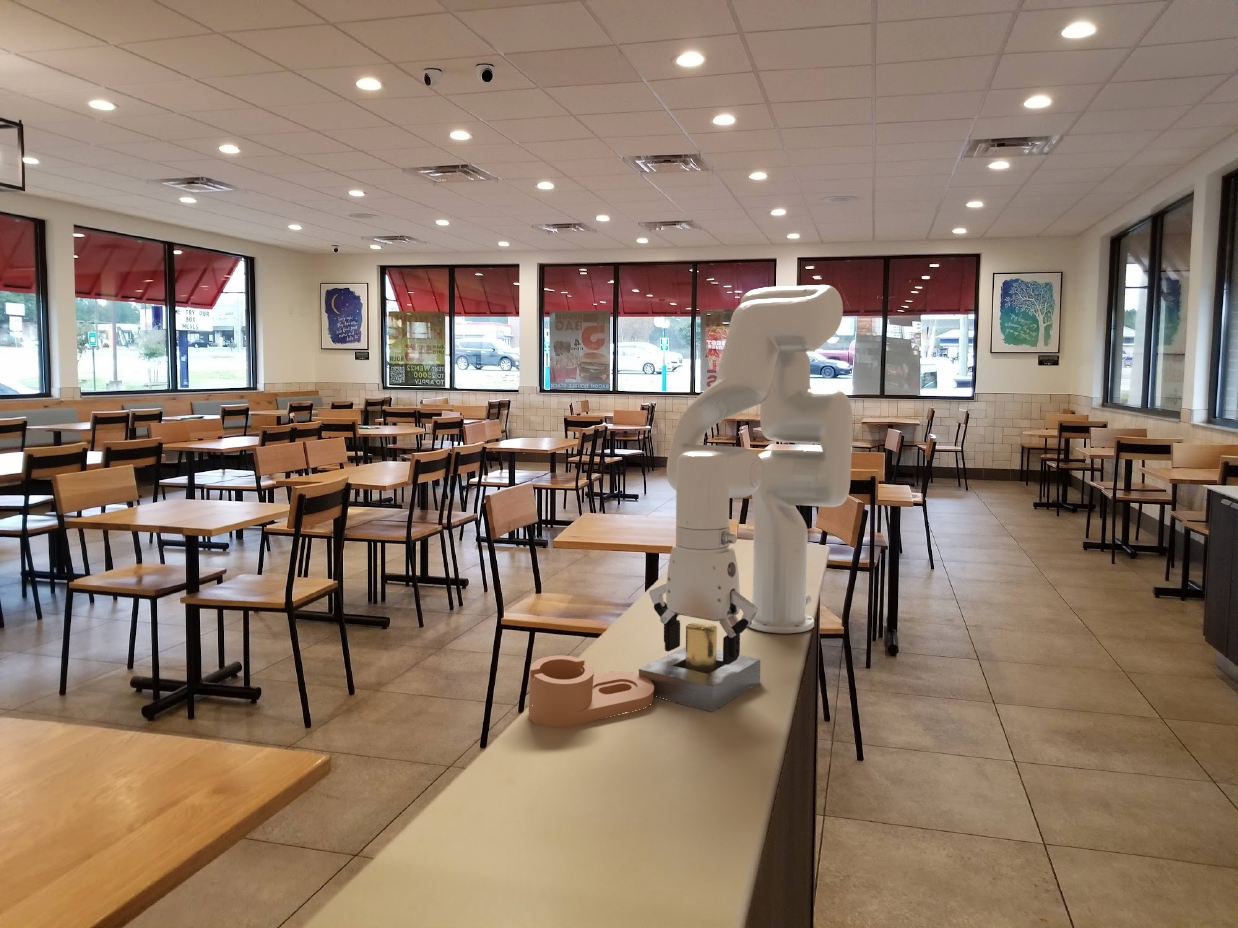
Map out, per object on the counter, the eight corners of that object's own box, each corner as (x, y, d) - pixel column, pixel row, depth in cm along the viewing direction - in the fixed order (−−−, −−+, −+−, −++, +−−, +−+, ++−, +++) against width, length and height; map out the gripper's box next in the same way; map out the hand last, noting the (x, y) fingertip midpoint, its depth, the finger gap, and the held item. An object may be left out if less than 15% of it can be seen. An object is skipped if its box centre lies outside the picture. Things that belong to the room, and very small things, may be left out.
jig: (690, 666, 135) (690, 644, 135) (760, 682, 128) (760, 659, 128) (638, 692, 124) (638, 668, 124) (712, 711, 117) (712, 686, 117)
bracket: (544, 738, 111) (547, 688, 109) (518, 708, 118) (520, 661, 116) (663, 711, 120) (667, 664, 118) (633, 684, 127) (636, 640, 125)
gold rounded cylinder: (695, 680, 129) (696, 620, 128) (721, 686, 127) (722, 626, 126) (679, 688, 126) (680, 627, 125) (706, 695, 123) (706, 633, 122)
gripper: (769, 541, 122) (767, 660, 124) (665, 528, 132) (664, 638, 134) (744, 549, 116) (741, 674, 118) (637, 535, 126) (636, 650, 128)
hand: (700, 655), depth 126 cm, fingers open, 9 cm apart
